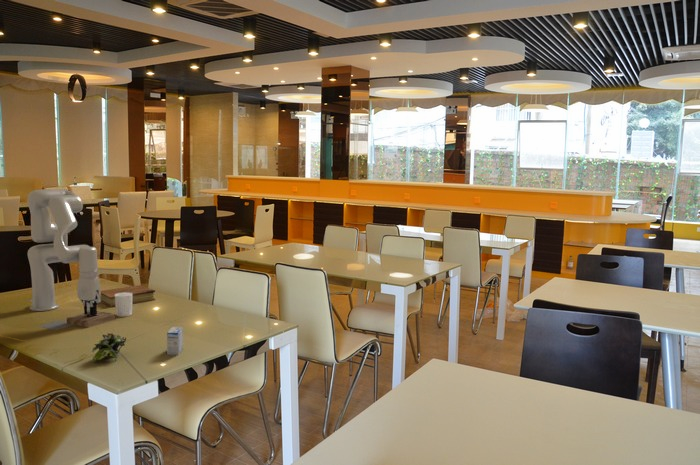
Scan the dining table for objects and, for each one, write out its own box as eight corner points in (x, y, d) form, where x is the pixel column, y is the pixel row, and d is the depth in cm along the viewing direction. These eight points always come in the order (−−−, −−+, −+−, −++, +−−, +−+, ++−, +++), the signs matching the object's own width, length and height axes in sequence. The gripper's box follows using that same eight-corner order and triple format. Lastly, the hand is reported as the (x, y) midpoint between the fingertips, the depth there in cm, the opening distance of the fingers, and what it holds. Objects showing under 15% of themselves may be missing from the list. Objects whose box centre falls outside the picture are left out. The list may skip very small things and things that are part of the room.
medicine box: (171, 348, 219) (171, 326, 218) (183, 348, 220) (182, 326, 219) (167, 355, 212) (166, 332, 211) (179, 354, 212) (178, 332, 211)
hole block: (67, 324, 251) (66, 317, 250) (93, 316, 263) (93, 310, 263) (88, 328, 244) (88, 321, 244) (114, 320, 257) (114, 314, 257)
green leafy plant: (109, 369, 211) (123, 339, 216) (123, 371, 204) (137, 340, 209) (82, 358, 204) (97, 328, 209) (95, 360, 197) (110, 328, 202)
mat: (37, 327, 246) (37, 326, 246) (58, 321, 255) (58, 320, 255) (56, 330, 240) (55, 329, 240) (76, 324, 249) (76, 324, 249)
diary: (140, 295, 310) (140, 284, 309) (155, 301, 296) (155, 290, 295) (97, 301, 294) (97, 290, 293) (110, 308, 281) (110, 296, 280)
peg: (85, 321, 253) (84, 299, 252) (91, 319, 256) (90, 298, 255) (90, 322, 252) (89, 300, 251) (96, 320, 254) (95, 299, 253)
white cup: (136, 313, 270) (135, 292, 269) (128, 317, 262) (127, 296, 261) (120, 312, 271) (119, 292, 270) (112, 316, 263) (111, 295, 262)
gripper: (69, 274, 251) (71, 314, 254) (94, 277, 244) (96, 318, 246) (83, 271, 258) (85, 310, 260) (108, 274, 251) (110, 314, 253)
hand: (90, 314), depth 253 cm, fingers closed on peg, 3 cm apart
